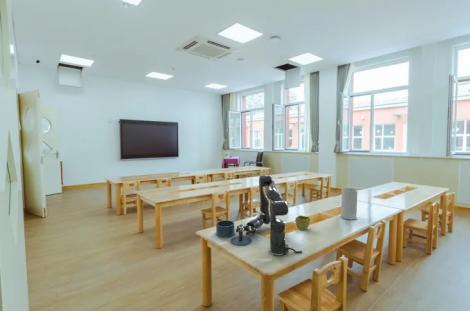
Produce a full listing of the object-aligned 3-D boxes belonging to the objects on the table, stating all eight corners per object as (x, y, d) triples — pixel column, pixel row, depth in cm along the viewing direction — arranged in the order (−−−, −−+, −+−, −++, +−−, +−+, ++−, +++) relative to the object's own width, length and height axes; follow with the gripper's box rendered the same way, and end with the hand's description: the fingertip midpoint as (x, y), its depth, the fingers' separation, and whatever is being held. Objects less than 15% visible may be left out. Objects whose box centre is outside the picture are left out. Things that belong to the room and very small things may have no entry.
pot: (235, 231, 193) (235, 220, 192) (232, 238, 180) (232, 227, 179) (218, 230, 195) (218, 219, 194) (214, 237, 182) (214, 226, 181)
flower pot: (299, 225, 203) (300, 215, 203) (310, 228, 198) (310, 217, 197) (295, 229, 197) (295, 218, 196) (305, 231, 191) (305, 220, 190)
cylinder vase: (359, 219, 216) (360, 191, 214) (345, 220, 215) (346, 191, 213) (351, 214, 229) (352, 187, 226) (338, 215, 228) (339, 188, 225)
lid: (252, 238, 181) (252, 227, 180) (250, 247, 167) (250, 235, 166) (232, 237, 183) (232, 226, 182) (228, 245, 169) (228, 234, 168)
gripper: (245, 218, 192) (233, 225, 178) (261, 222, 184) (250, 229, 170) (245, 228, 192) (233, 235, 179) (261, 232, 184) (250, 240, 171)
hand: (241, 232), depth 175 cm, fingers open, 8 cm apart
